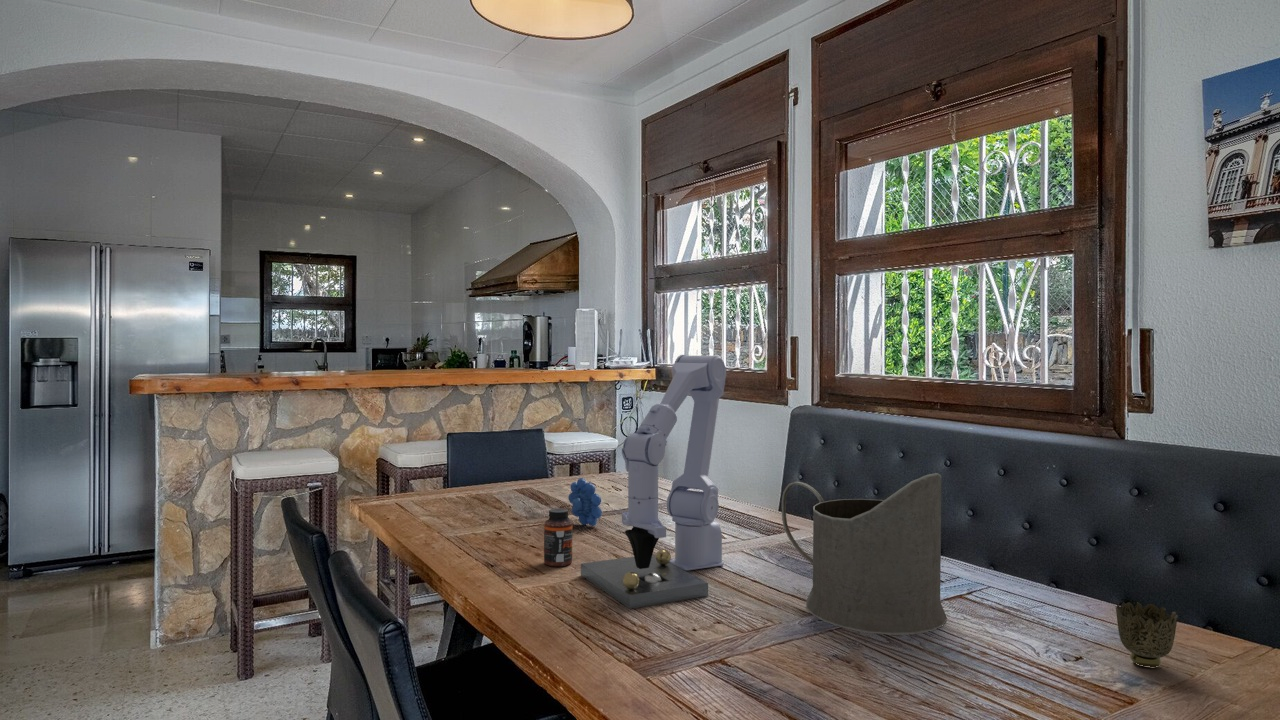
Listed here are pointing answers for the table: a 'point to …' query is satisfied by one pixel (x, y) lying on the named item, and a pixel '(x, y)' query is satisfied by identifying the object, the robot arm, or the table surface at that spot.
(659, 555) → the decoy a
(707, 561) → the robot arm
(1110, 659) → the table surface
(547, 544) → the supplement bottle
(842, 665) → the table surface
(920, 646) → the table surface
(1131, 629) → the cup
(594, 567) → the plate
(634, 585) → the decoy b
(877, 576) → the pitcher
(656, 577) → the steel ball
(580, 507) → the grapes
